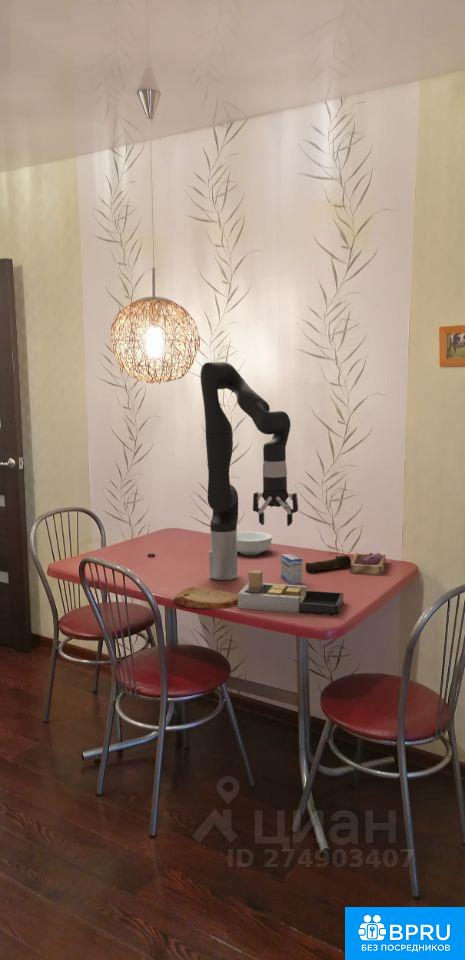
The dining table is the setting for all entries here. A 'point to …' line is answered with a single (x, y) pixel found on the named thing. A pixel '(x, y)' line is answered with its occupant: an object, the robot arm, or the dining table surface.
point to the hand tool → (329, 564)
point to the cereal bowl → (253, 542)
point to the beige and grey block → (256, 582)
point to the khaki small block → (280, 587)
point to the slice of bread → (206, 598)
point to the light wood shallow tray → (366, 568)
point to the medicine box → (291, 568)
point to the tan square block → (293, 592)
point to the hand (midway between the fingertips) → (275, 525)
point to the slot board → (292, 601)
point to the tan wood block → (276, 591)
